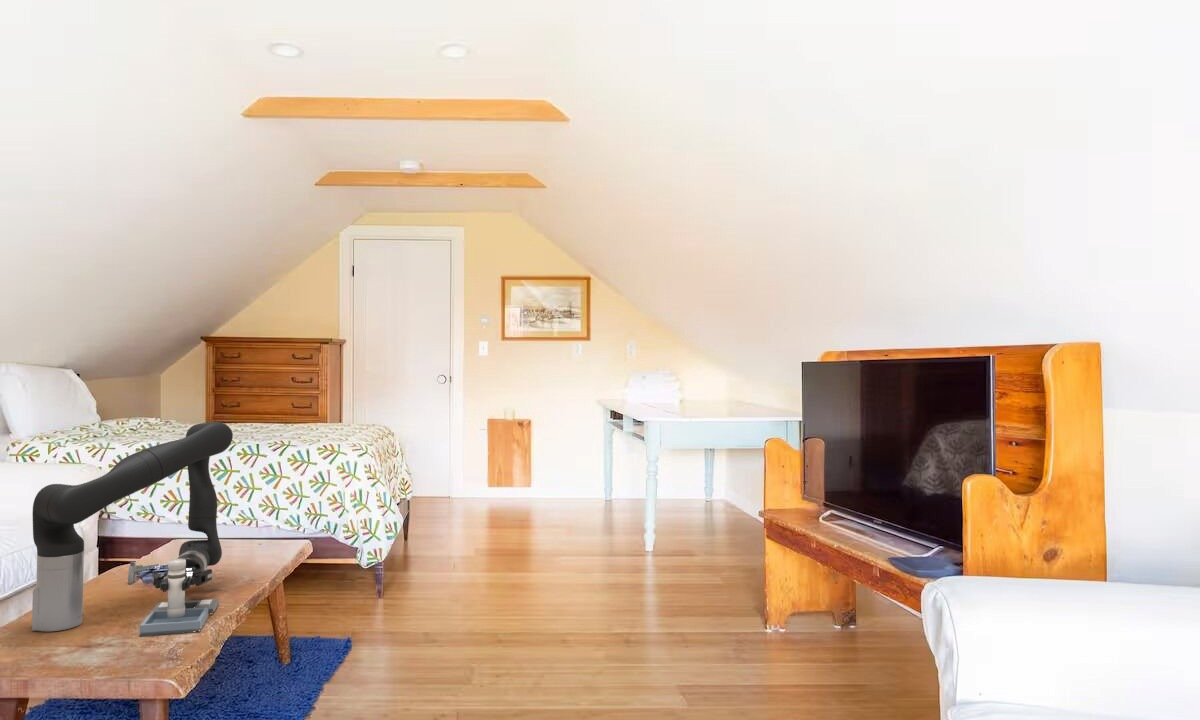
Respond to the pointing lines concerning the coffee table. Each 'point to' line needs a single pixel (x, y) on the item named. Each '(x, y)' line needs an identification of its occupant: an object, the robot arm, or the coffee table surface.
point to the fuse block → (192, 605)
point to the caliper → (136, 571)
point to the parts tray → (173, 622)
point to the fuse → (176, 588)
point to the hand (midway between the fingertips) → (174, 586)
